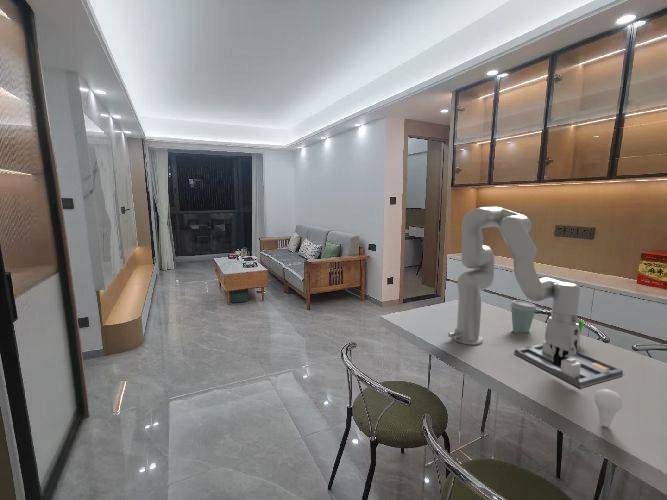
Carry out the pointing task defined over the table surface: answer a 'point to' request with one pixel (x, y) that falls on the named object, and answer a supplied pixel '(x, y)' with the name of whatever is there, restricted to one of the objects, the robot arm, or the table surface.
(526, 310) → the disposable coffee cup
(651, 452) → the table surface
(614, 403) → the lightbulb
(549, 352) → the white stepped block
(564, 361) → the white stepped block
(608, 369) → the switch board
